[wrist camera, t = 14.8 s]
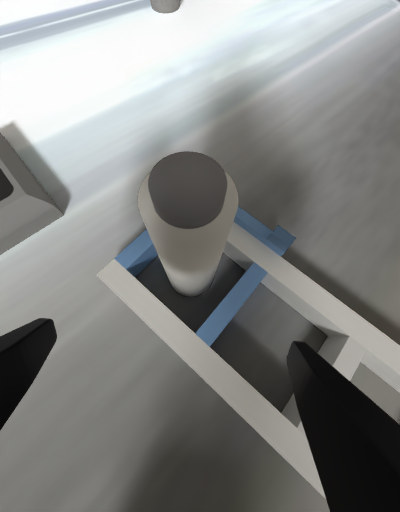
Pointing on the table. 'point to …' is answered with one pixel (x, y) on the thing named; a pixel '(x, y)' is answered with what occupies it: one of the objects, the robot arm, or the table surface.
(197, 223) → the white capped cylinder
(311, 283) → the white and blue ladder
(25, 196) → the gray box with screen
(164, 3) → the house plant
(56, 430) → the table surface
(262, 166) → the table surface
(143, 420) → the table surface
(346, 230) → the table surface
